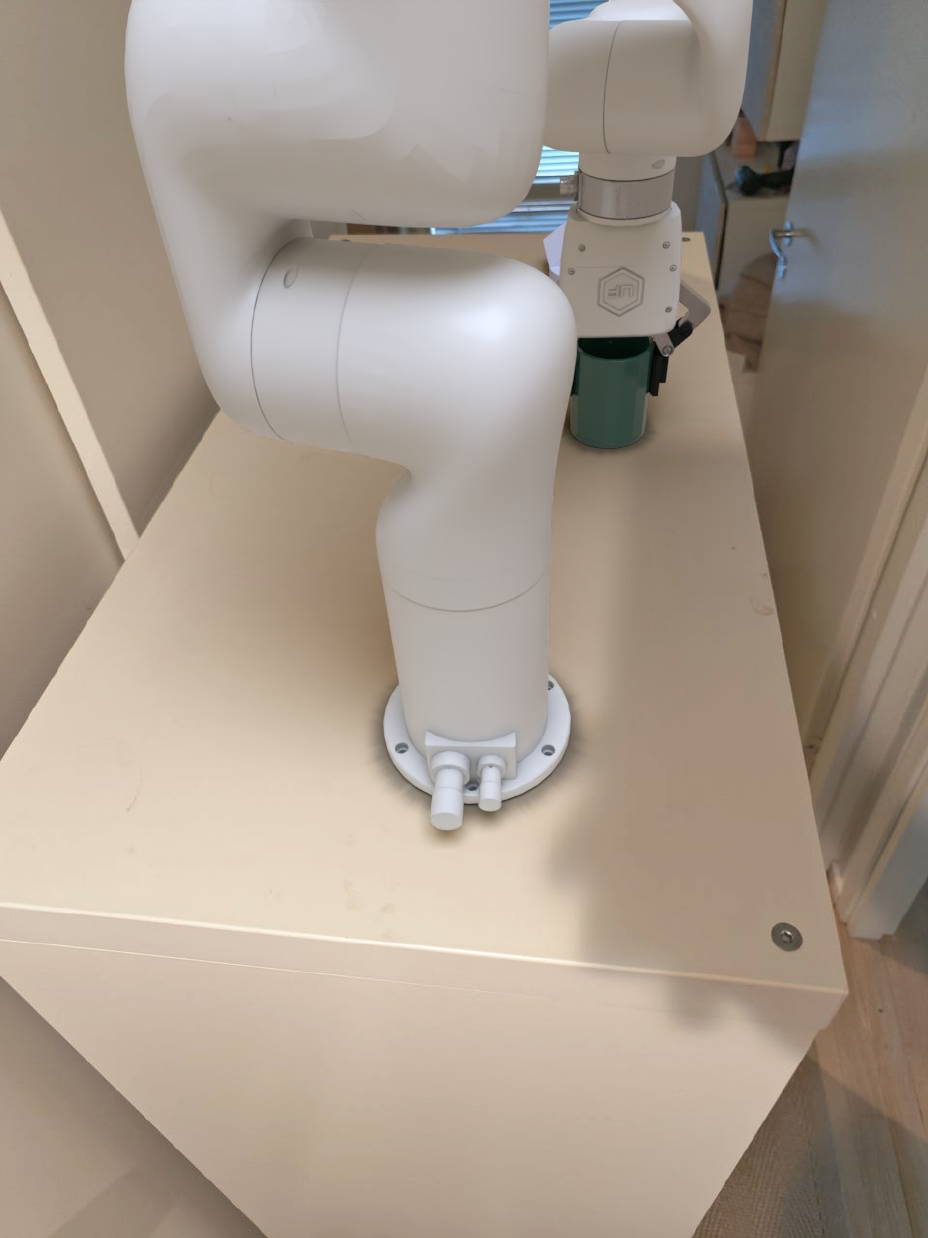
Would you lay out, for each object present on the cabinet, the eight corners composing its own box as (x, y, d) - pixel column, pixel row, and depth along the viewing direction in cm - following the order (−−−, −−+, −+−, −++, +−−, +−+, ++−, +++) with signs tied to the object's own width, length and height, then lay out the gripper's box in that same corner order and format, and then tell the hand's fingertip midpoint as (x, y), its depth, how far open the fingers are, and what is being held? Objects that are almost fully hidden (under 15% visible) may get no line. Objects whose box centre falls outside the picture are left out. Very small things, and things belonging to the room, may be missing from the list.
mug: (647, 448, 80) (658, 360, 74) (571, 449, 81) (575, 362, 74) (638, 392, 87) (647, 308, 81) (568, 393, 88) (571, 310, 82)
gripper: (514, 211, 66) (517, 412, 78) (744, 203, 64) (709, 409, 77) (516, 178, 71) (518, 371, 83) (728, 170, 70) (698, 368, 82)
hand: (610, 388), depth 80 cm, fingers closed on mug, 7 cm apart
